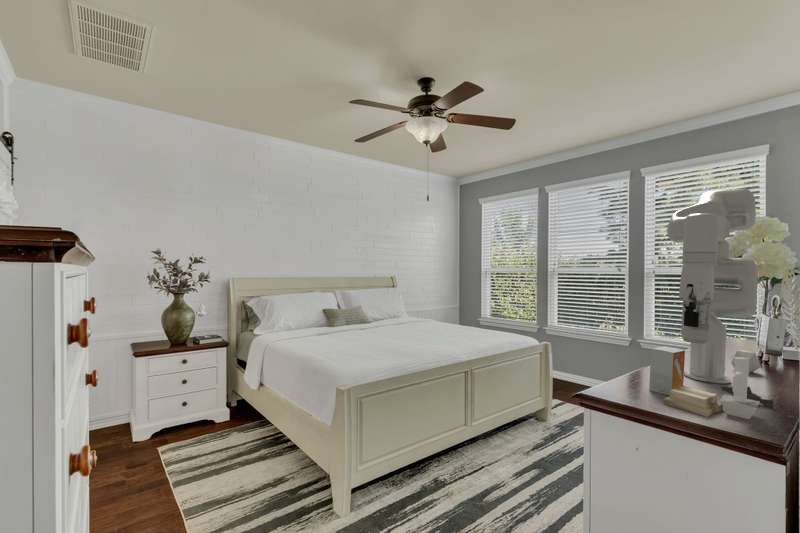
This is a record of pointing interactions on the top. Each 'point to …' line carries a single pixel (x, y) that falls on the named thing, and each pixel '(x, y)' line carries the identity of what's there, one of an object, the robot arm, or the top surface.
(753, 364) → the die
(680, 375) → the small box
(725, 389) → the animal figurine
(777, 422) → the top surface
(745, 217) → the robot arm
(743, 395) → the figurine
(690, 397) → the plinth
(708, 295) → the energy drink can
